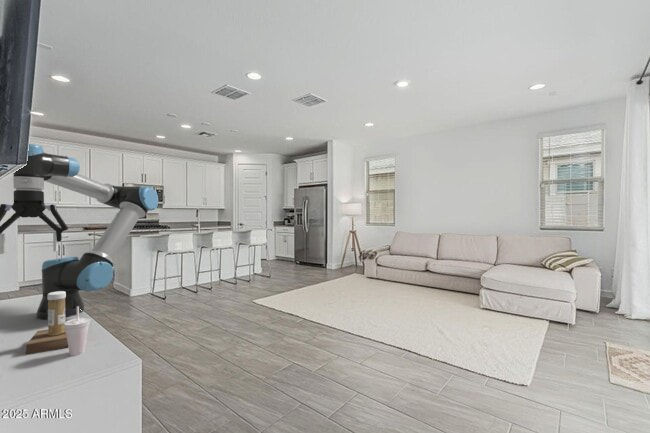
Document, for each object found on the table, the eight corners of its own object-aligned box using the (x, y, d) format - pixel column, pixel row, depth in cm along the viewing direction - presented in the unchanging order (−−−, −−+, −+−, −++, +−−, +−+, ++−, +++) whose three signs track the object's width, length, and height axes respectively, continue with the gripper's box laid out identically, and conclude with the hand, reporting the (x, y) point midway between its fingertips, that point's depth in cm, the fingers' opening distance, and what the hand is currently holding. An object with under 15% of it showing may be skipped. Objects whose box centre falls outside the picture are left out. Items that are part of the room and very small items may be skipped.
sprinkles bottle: (66, 333, 102) (66, 292, 102) (48, 337, 99) (48, 295, 98) (64, 329, 105) (64, 290, 105) (46, 333, 102) (46, 292, 102)
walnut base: (37, 339, 104) (37, 331, 104) (82, 332, 110) (82, 324, 110) (26, 354, 94) (26, 344, 94) (76, 345, 100) (76, 336, 100)
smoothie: (93, 346, 99) (93, 303, 99) (86, 355, 93) (85, 309, 93) (69, 350, 97) (68, 305, 97) (59, 359, 91) (59, 311, 91)
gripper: (-29, 188, 97) (-28, 256, 97) (73, 190, 110) (74, 251, 110) (-18, 189, 103) (-17, 253, 104) (77, 191, 116) (77, 248, 117)
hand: (29, 252), depth 107 cm, fingers open, 13 cm apart
